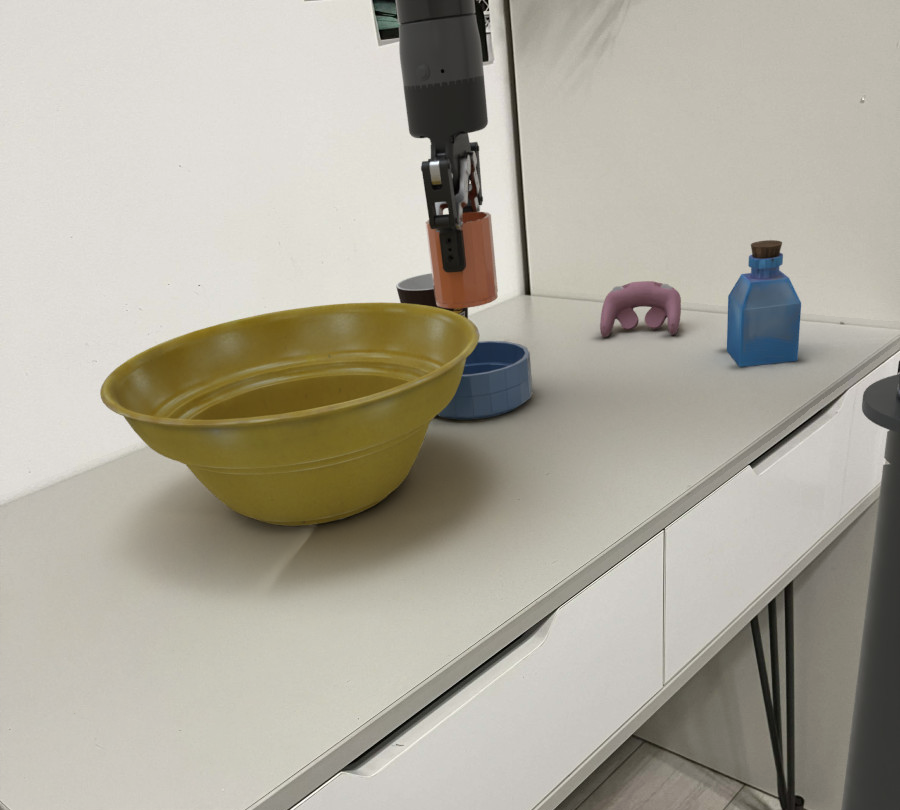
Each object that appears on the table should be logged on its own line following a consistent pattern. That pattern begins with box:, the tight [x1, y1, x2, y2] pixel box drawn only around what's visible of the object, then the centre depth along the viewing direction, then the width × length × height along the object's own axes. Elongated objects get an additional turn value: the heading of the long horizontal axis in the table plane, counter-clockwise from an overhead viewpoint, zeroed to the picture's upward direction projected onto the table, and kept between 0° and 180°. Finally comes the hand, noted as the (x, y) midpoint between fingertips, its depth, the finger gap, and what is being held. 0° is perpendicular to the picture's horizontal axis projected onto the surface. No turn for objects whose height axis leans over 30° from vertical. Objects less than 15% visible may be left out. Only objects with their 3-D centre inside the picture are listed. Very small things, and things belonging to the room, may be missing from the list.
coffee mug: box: [395, 272, 469, 319], centre depth 116 cm, size 12×9×10 cm
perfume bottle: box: [726, 239, 802, 368], centre depth 103 cm, size 6×6×12 cm
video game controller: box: [599, 280, 682, 338], centre depth 119 cm, size 10×5×7 cm, turn 72°
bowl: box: [436, 340, 534, 421], centre depth 103 cm, size 12×12×5 cm
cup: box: [425, 211, 499, 309], centre depth 96 cm, size 6×6×8 cm
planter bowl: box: [99, 302, 480, 527], centre depth 85 cm, size 32×32×13 cm
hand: (462, 262), depth 96 cm, fingers closed on cup, 6 cm apart
